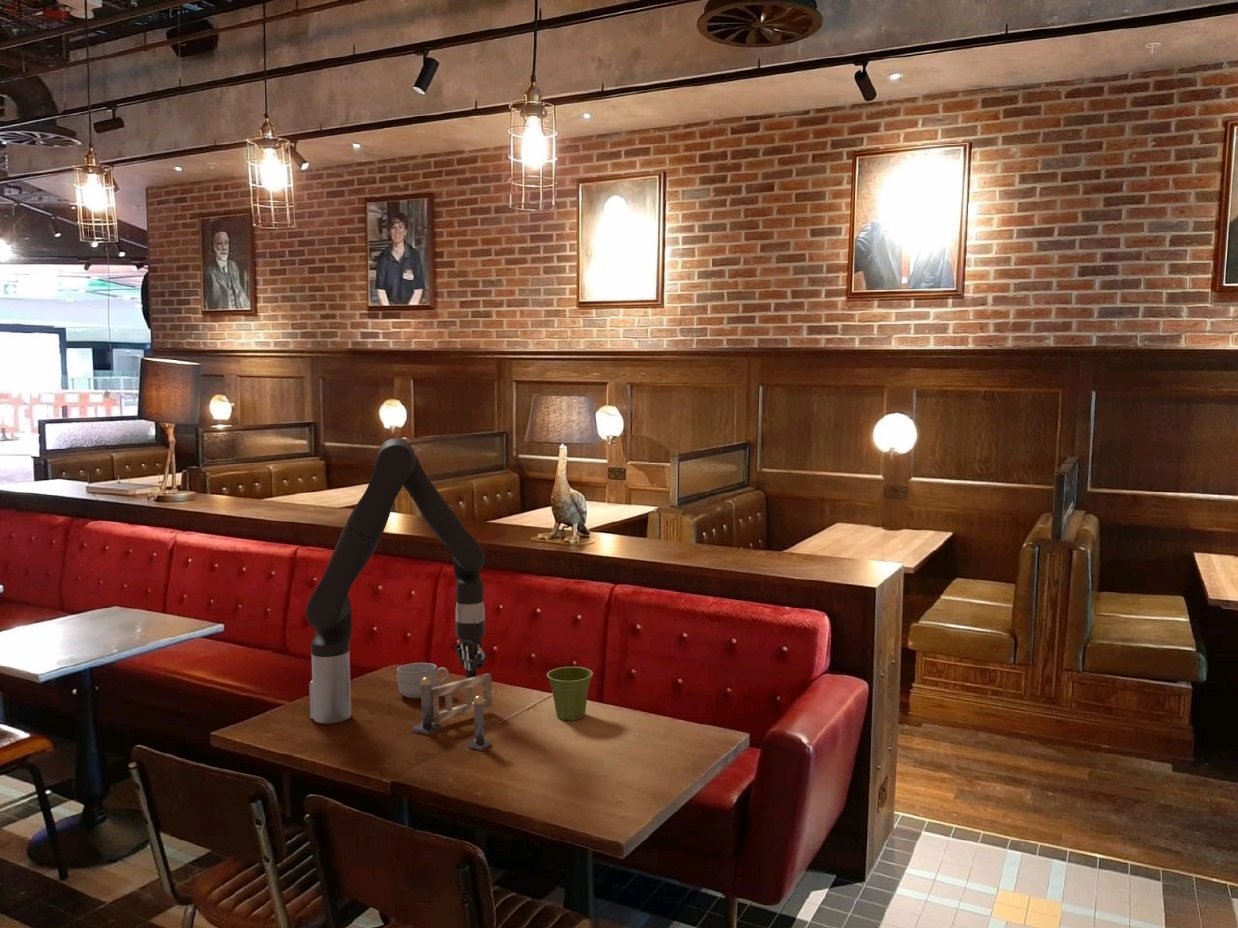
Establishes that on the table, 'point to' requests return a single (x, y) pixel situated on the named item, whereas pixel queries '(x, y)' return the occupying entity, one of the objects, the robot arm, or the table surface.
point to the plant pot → (570, 691)
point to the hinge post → (426, 710)
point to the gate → (469, 705)
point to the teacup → (418, 677)
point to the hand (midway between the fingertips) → (471, 683)
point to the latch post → (479, 726)
